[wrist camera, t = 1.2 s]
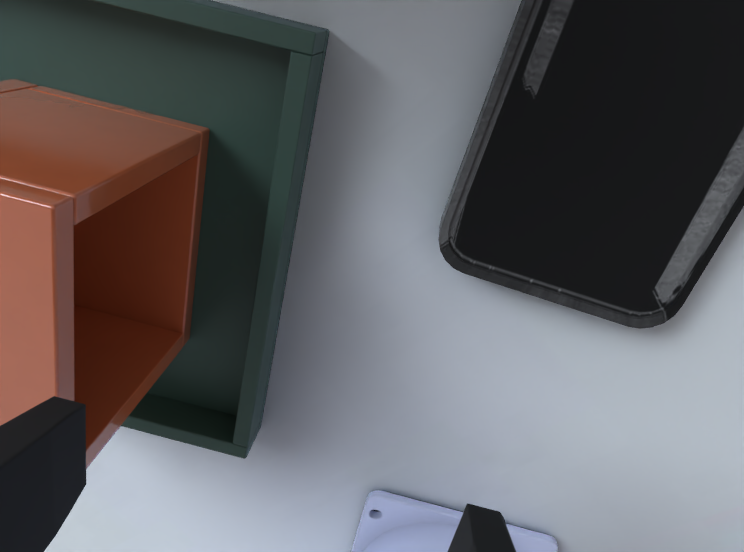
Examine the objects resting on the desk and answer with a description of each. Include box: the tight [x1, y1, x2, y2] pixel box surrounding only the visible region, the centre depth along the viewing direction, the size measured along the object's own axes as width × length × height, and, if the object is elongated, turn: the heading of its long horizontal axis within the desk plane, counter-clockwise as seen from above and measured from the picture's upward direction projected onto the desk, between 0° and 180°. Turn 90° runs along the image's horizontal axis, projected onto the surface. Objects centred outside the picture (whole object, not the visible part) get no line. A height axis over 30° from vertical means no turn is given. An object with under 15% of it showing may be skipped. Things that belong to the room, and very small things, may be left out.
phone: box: [439, 0, 744, 328], centre depth 16 cm, size 8×1×15 cm
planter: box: [0, 79, 210, 469], centre depth 17 cm, size 6×8×8 cm
